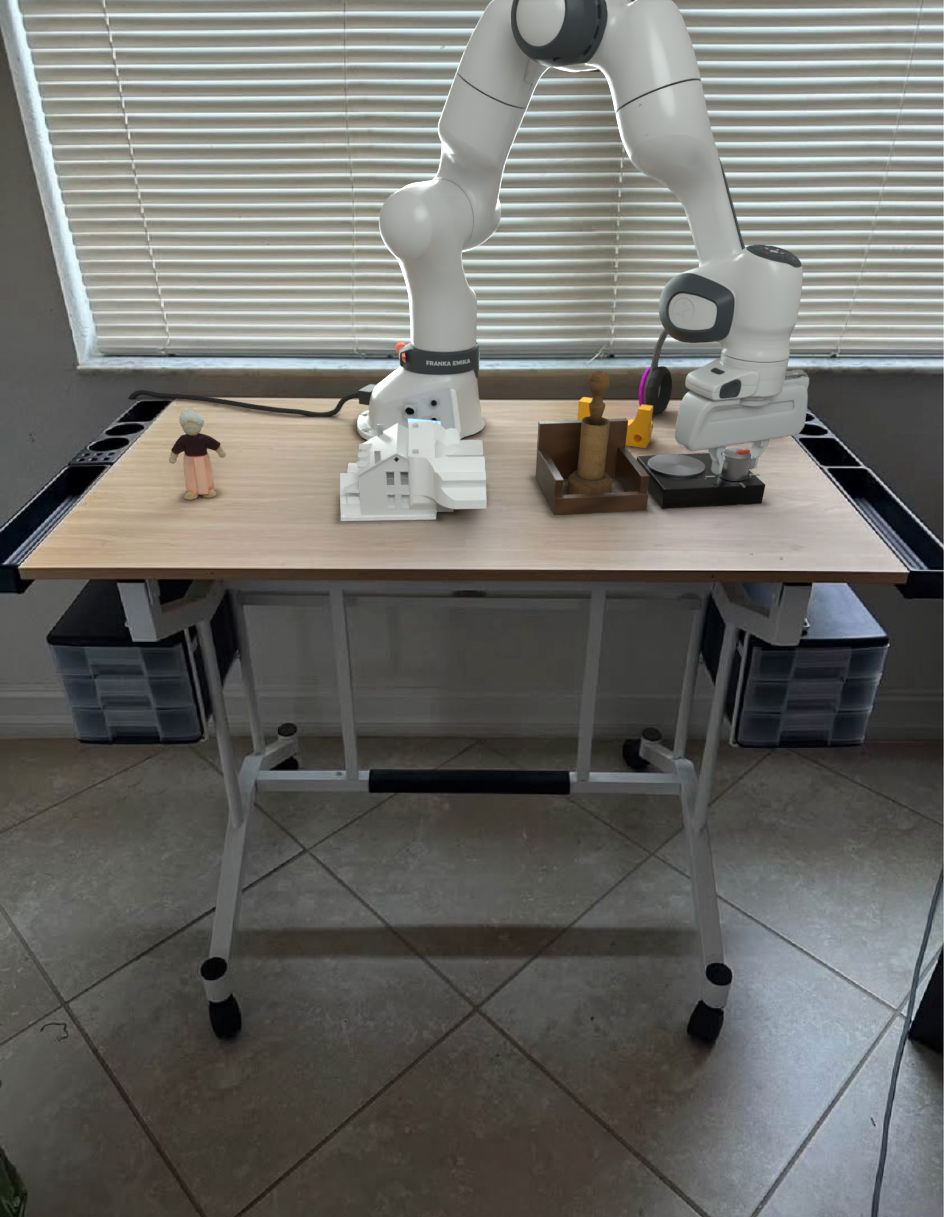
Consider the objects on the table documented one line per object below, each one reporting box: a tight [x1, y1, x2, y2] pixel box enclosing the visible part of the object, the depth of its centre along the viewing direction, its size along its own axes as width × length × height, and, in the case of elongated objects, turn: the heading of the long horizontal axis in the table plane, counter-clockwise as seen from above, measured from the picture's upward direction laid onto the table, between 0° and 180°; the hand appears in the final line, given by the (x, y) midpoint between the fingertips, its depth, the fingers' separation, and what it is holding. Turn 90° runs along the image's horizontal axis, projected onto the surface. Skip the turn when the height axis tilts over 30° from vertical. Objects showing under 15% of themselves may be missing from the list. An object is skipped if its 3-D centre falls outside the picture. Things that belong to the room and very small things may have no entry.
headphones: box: [638, 328, 673, 416], centre depth 147 cm, size 21×9×20 cm, turn 58°
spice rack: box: [535, 417, 650, 516], centre depth 122 cm, size 13×13×9 cm
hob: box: [636, 452, 766, 510], centre depth 125 cm, size 16×14×3 cm
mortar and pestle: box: [566, 370, 613, 495], centre depth 120 cm, size 7×6×18 cm
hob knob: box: [719, 448, 751, 481], centre depth 122 cm, size 4×4×4 cm
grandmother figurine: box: [168, 409, 227, 501], centre depth 120 cm, size 8×4×13 cm, turn 117°
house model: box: [339, 421, 488, 522], centre depth 117 cm, size 19×20×10 cm
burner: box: [648, 453, 705, 478], centre depth 126 cm, size 8×8×1 cm
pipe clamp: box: [577, 396, 654, 449], centre depth 143 cm, size 12×4×6 cm, turn 68°
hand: (733, 470), depth 122 cm, fingers closed on hob knob, 4 cm apart
